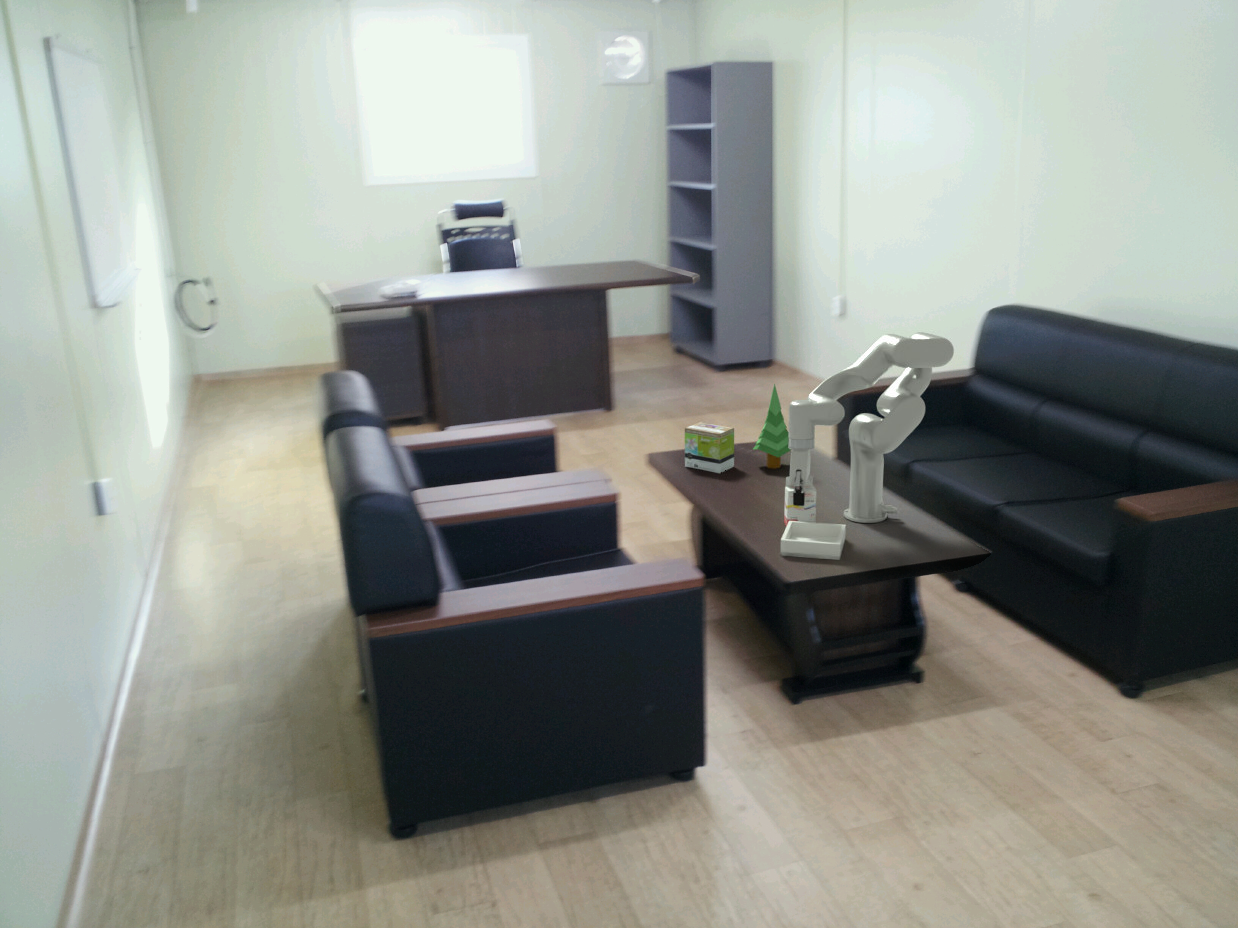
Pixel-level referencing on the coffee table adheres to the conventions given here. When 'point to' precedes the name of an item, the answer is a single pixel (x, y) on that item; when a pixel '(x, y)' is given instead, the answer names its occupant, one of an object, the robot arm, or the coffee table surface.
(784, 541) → the box
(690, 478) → the coffee table surface
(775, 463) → the decorative tree
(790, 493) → the ink cartridge box
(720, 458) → the tea box
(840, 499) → the coffee table surface
